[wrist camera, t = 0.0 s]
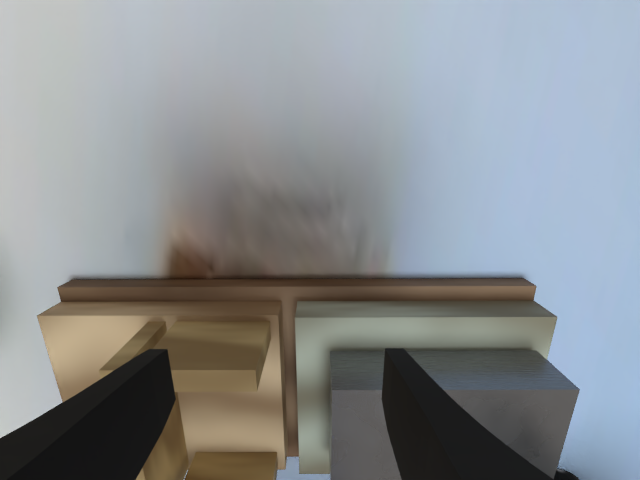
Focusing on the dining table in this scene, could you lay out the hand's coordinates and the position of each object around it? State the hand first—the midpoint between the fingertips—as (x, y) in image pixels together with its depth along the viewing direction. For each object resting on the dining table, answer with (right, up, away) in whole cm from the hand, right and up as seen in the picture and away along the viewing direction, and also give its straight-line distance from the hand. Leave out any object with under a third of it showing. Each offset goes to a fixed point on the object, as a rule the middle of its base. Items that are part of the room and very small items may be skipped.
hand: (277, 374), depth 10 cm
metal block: (+8, -6, +9) cm, 13 cm away
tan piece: (0, -5, +12) cm, 13 cm away
